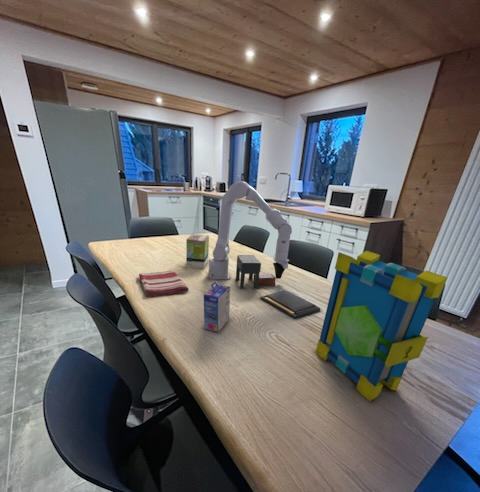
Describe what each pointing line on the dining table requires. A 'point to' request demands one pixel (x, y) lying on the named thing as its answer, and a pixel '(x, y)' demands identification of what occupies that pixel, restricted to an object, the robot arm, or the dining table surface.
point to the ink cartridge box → (216, 307)
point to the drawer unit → (248, 269)
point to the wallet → (290, 304)
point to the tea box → (197, 251)
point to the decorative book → (376, 320)
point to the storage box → (266, 279)
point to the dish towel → (162, 283)
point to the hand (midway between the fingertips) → (278, 278)
